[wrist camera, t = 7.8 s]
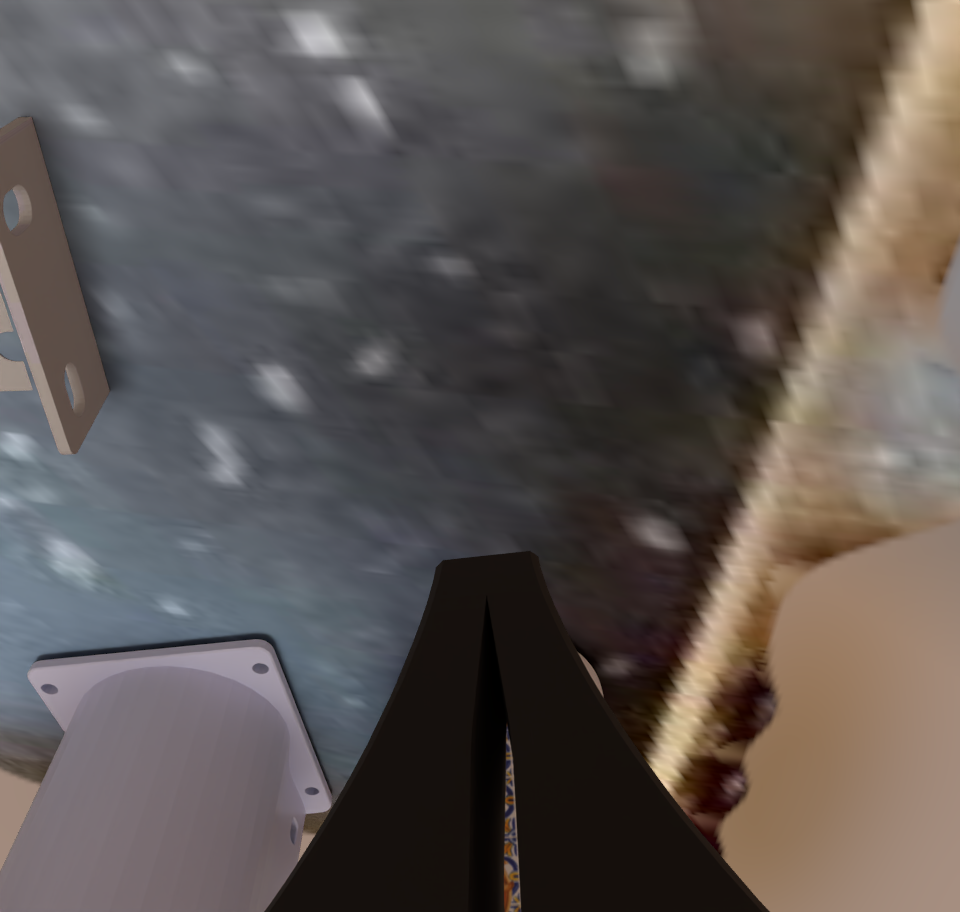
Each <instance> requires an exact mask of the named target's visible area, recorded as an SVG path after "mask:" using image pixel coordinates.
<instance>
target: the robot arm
mask: <svg viewBox="0 0 960 912" xmlns="http://www.w3.org/2000/svg"><path fill="white" fill-rule="evenodd" d="M260 663H262V664H260ZM27 677H28V679H29V681H30V682H31V684H32V685H33V687H34V688H35V690H36V691H37V693H38V694H39V695H40V697H41V698H42V700H43V701H44V703H45V704H46V706H47V707H48V709H49V710H50V711H51V713H52V714H53V716H54V717H55V719H56V720H57V722H58V723H59V725H60V726H61V728H62V729H63V730H64V732H65V734H64V736H63V738H62V740H61V743H60V745H59V747H58V749H57V751H56V753H55V755H54V757H53V760H52V762H51V764H50V766H49V768H48V770H47V772H46V775H45V777H44V779H43V781H42V783H41V785H40V788H39V790H38V792H37V794H36V796H35V798H34V800H33V802H32V805H31V807H30V809H29V811H28V813H27V815H26V817H25V820H24V822H23V824H22V826H21V828H20V831H19V832H18V835H17V837H16V839H15V841H14V843H13V845H12V848H11V850H10V852H9V854H8V856H7V858H6V860H5V862H4V865H3V867H2V869H1V871H0V912H505V908H504V851H505V796H506V736H507V727H508V733H509V739H510V745H511V750H512V756H513V769H514V786H515V804H516V822H517V841H518V860H519V879H520V899H521V912H769V911H768V909H766V907H765V906H764V905H763V904H762V903H761V902H760V901H759V900H758V899H757V898H756V896H755V895H754V894H753V893H752V892H751V891H750V889H749V888H748V887H747V886H746V885H745V884H744V882H743V881H742V880H741V879H740V878H739V877H738V876H737V874H736V873H735V872H734V871H733V870H732V869H731V868H730V866H729V865H728V864H727V863H726V862H725V860H724V859H723V858H722V857H721V856H720V855H719V853H718V852H717V851H716V850H715V849H714V848H713V846H712V845H711V844H710V843H709V842H708V841H707V840H706V838H705V837H704V836H703V835H702V834H701V833H700V831H699V830H698V829H697V828H696V826H695V825H694V824H693V823H692V821H691V820H690V819H689V818H688V816H687V815H686V814H685V812H684V811H683V810H682V809H681V807H680V806H679V805H678V804H677V802H676V801H675V800H674V798H673V797H672V796H671V795H670V793H669V792H668V791H667V789H666V788H665V787H664V785H663V784H662V783H661V781H660V780H659V779H658V777H657V776H656V774H655V773H654V772H653V770H652V769H651V768H650V766H649V765H648V764H647V762H646V761H645V759H644V758H643V757H642V755H641V754H640V752H639V751H638V749H637V748H636V747H635V745H634V744H633V742H632V741H631V739H630V738H629V736H628V735H627V733H626V732H625V730H624V729H623V727H622V726H621V724H620V723H619V721H618V720H617V718H616V716H615V715H614V713H613V712H612V710H611V709H610V707H609V705H608V704H607V702H606V701H605V699H604V698H603V696H602V694H601V693H600V691H599V689H598V687H597V686H596V684H595V682H594V681H593V679H592V677H591V676H590V674H589V672H588V670H587V668H586V667H585V665H584V663H583V661H582V659H581V657H580V656H579V654H578V652H577V650H576V648H575V647H574V645H573V643H572V641H571V639H570V637H569V635H568V633H567V631H566V629H565V627H564V625H563V623H562V621H561V619H560V616H559V614H558V612H557V610H556V608H555V605H554V603H553V601H552V598H551V596H550V593H549V591H548V588H547V586H546V583H545V580H544V577H543V574H542V570H541V567H540V563H539V558H538V556H537V555H535V554H534V553H532V552H531V551H526V552H516V553H507V554H498V555H488V556H479V557H470V558H460V559H451V560H443V561H442V562H441V563H440V564H439V565H438V566H437V567H436V571H435V575H434V580H433V584H432V587H431V591H430V595H429V598H428V601H427V605H426V608H425V611H424V614H423V617H422V620H421V622H420V625H419V628H418V631H417V633H416V636H415V639H414V642H413V644H412V647H411V649H410V651H409V654H408V656H407V659H406V661H405V664H404V666H403V669H402V671H401V673H400V676H399V678H398V681H397V683H396V685H395V688H394V690H393V692H392V694H391V697H390V699H389V701H388V703H387V705H386V707H385V709H384V711H383V713H382V715H381V717H380V719H379V721H378V724H377V726H376V728H375V730H374V732H373V734H372V736H371V738H370V740H369V742H368V744H367V746H366V748H365V750H364V752H363V754H362V756H361V758H360V759H359V761H358V763H357V765H356V767H355V769H354V771H353V772H352V774H351V776H350V778H349V780H348V781H347V783H346V785H345V787H344V789H343V790H342V792H341V794H340V795H339V797H338V799H337V801H336V802H335V804H334V806H333V807H332V809H331V811H330V813H329V814H328V816H327V818H326V819H325V821H324V822H323V824H322V826H321V827H320V829H319V830H318V832H317V833H316V835H315V837H314V838H313V840H312V841H311V843H310V844H309V846H308V848H307V849H306V851H305V852H304V854H303V855H302V857H301V859H300V860H299V862H298V857H299V852H300V845H301V839H302V833H303V827H304V821H305V815H306V814H310V813H321V812H325V811H327V810H329V809H330V807H331V804H332V795H331V793H330V790H329V788H328V785H327V782H326V780H325V777H324V775H323V772H322V770H321V767H320V765H319V762H318V760H317V757H316V755H315V752H314V749H313V747H312V744H311V742H310V739H309V737H308V734H307V732H306V729H305V727H304V724H303V722H302V719H301V716H300V714H299V711H298V709H297V706H296V704H295V701H294V699H293V696H292V694H291V691H290V689H289V686H288V683H287V681H286V678H285V676H284V673H283V671H282V668H281V666H280V663H279V661H278V658H277V656H276V653H275V650H274V648H273V647H272V645H271V644H269V643H268V642H266V641H264V640H261V639H252V640H242V641H232V642H222V643H212V644H202V645H192V646H182V647H171V648H161V649H151V650H141V651H131V652H121V653H111V654H101V655H91V656H80V657H70V658H60V659H50V660H41V661H37V662H35V663H34V664H32V666H31V668H30V669H29V671H28V674H27Z"/></svg>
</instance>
